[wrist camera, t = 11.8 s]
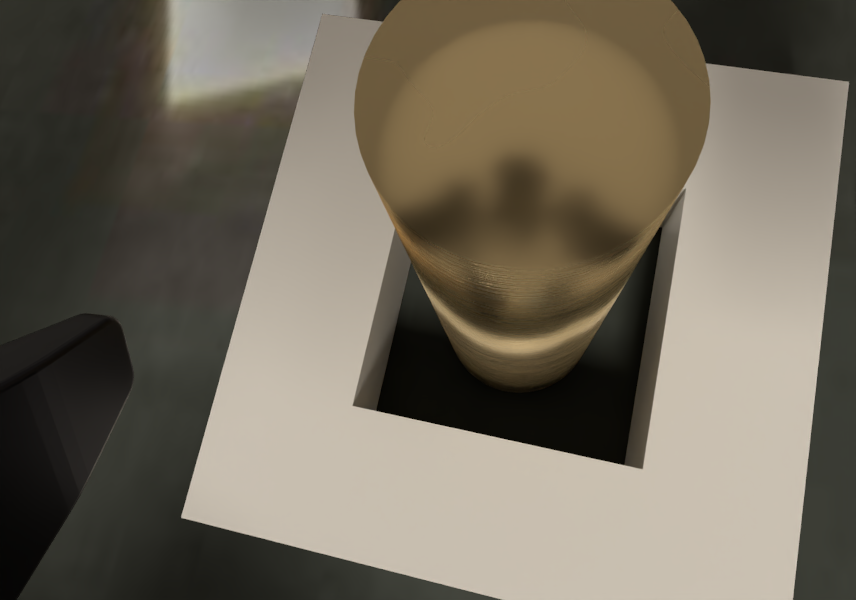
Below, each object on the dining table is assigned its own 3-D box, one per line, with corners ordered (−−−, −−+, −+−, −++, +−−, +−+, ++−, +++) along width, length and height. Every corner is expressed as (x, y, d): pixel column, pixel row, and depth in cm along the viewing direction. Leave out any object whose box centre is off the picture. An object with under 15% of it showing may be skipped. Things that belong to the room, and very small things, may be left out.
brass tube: (600, 269, 21) (732, -36, 8) (576, 406, 20) (682, 298, 7) (464, 245, 21) (397, -73, 9) (436, 377, 21) (316, 231, 8)
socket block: (802, 135, 21) (848, 81, 18) (741, 640, 18) (785, 671, 15) (346, 71, 23) (322, 13, 20) (228, 511, 20) (181, 517, 18)
